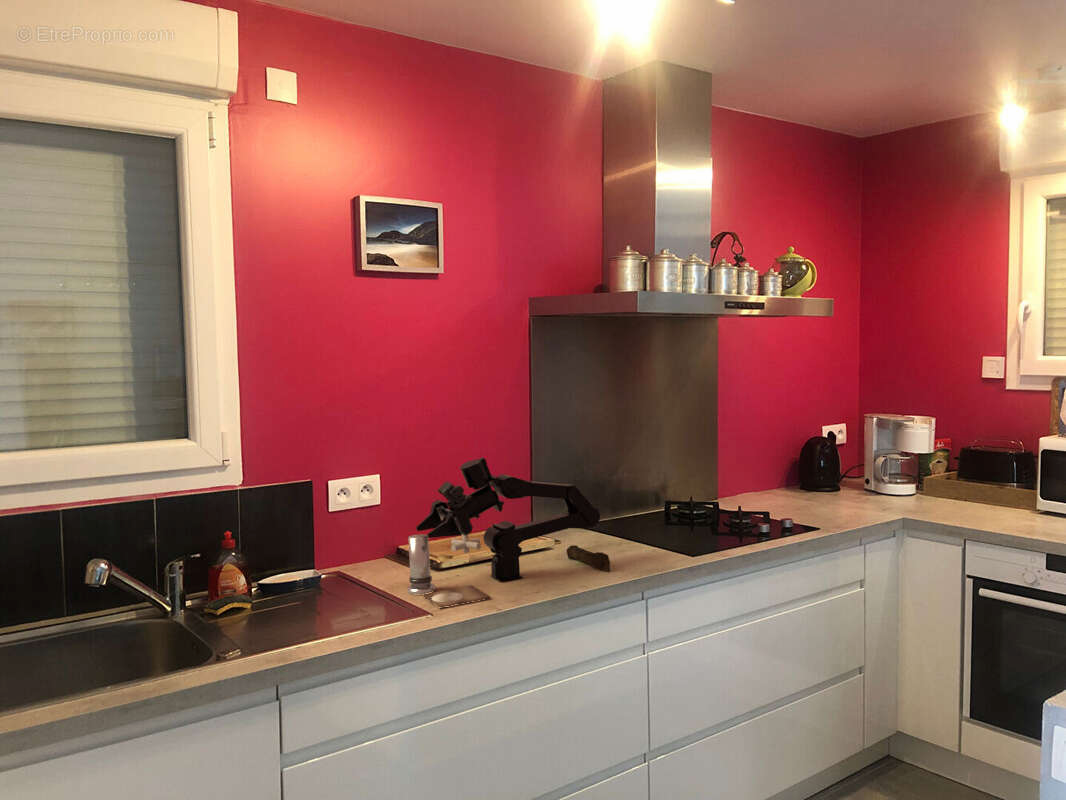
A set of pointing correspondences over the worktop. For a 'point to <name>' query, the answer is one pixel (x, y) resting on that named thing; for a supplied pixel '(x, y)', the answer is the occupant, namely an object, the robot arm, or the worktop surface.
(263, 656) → the worktop surface
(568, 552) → the hand tool
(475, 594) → the walnut board
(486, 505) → the robot arm
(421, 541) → the silver flared cylinder
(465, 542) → the pipe connector
